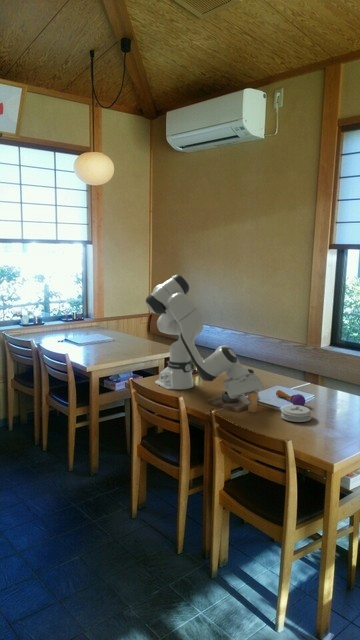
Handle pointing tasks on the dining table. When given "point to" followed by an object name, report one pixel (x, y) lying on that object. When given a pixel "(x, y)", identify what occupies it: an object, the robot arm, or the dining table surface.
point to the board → (229, 404)
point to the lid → (296, 413)
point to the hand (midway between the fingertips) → (253, 401)
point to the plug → (252, 402)
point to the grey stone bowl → (228, 398)
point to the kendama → (293, 398)
